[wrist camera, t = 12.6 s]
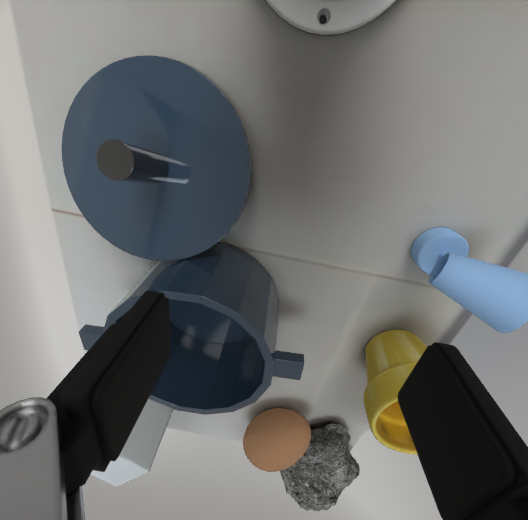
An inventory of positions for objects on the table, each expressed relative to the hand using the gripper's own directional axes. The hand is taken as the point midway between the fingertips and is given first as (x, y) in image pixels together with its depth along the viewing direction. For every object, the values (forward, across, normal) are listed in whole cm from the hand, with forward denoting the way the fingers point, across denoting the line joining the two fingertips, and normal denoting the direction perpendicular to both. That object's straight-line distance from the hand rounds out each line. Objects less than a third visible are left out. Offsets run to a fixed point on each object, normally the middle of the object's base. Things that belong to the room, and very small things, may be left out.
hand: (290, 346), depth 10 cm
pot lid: (+16, +12, -2) cm, 20 cm away
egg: (+15, -1, +38) cm, 41 cm away
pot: (+18, +7, +13) cm, 24 cm away
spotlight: (+19, -16, +2) cm, 24 cm away
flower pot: (+19, -16, +16) cm, 30 cm away
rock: (+13, -9, +38) cm, 41 cm away
